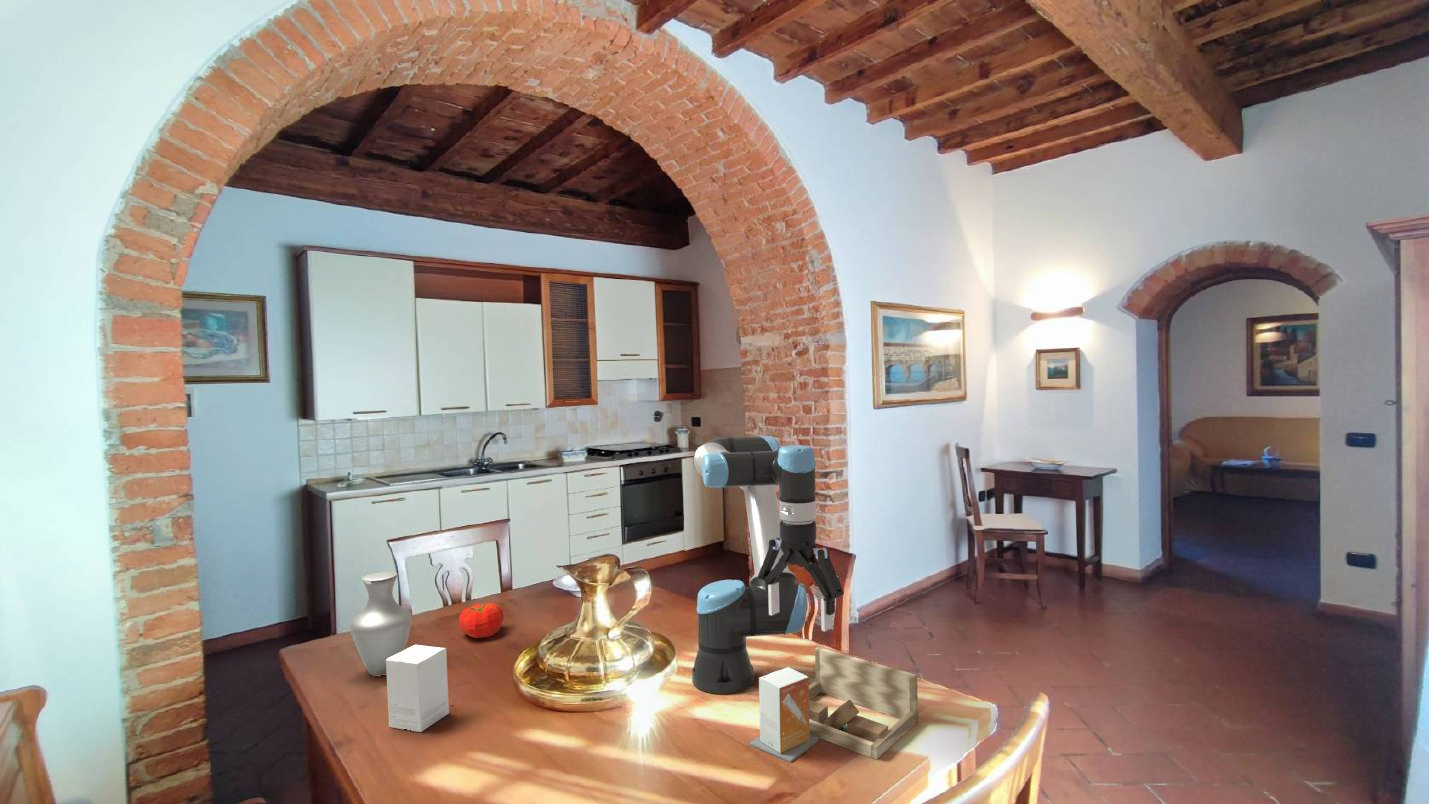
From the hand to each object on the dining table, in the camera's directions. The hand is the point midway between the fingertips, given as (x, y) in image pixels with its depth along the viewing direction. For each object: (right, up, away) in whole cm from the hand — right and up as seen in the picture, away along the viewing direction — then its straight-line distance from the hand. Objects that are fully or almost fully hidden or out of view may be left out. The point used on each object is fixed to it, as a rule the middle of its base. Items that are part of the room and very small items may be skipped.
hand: (799, 621), depth 140 cm
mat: (-4, -22, -6) cm, 23 cm away
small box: (-4, -22, -6) cm, 23 cm away
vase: (-103, -24, +34) cm, 111 cm away
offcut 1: (+2, -22, +3) cm, 22 cm away
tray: (+10, -22, +2) cm, 24 cm away
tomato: (-87, -23, +57) cm, 106 cm away
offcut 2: (+9, -20, -4) cm, 22 cm away
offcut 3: (+13, -22, -6) cm, 26 cm away
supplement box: (-83, -24, +7) cm, 86 cm away
